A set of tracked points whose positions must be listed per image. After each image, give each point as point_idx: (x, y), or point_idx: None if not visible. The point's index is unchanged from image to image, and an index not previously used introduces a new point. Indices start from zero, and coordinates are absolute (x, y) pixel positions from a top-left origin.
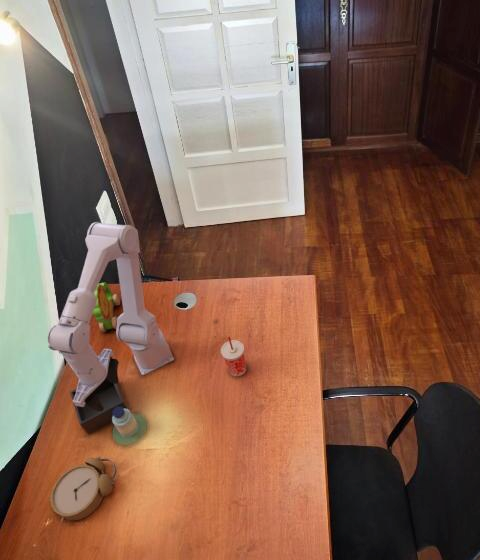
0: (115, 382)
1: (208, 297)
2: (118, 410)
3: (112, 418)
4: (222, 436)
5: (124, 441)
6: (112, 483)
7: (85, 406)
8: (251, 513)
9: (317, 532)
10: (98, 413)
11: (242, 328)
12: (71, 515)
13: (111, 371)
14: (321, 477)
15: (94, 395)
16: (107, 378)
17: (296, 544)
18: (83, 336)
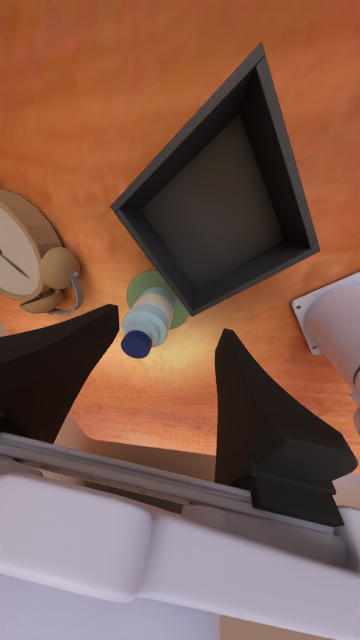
0: (216, 353)
1: None
2: (137, 349)
3: (136, 312)
4: (161, 402)
5: (133, 300)
6: (48, 313)
7: (219, 153)
8: (96, 414)
9: (99, 437)
10: (154, 259)
11: (335, 426)
12: None
13: (221, 435)
14: (136, 444)
15: (38, 438)
16: (228, 345)
17: (87, 430)
18: None
